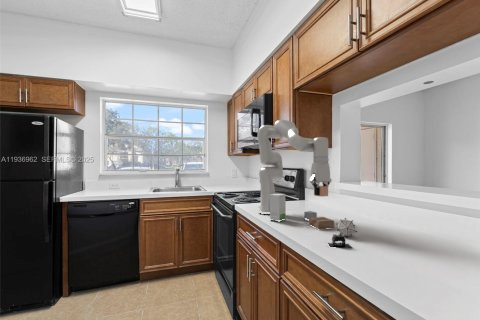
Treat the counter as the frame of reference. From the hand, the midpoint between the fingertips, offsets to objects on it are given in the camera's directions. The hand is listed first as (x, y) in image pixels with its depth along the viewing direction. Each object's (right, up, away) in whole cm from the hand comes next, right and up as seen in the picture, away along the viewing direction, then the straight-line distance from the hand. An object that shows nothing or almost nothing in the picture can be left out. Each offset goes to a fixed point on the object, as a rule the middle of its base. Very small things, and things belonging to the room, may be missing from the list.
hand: (320, 194), depth 121 cm
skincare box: (-21, -18, +14) cm, 31 cm away
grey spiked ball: (+6, -17, -17) cm, 24 cm away
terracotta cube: (0, -1, 0) cm, 1 cm away
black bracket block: (-3, -17, -29) cm, 34 cm away
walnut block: (0, -18, -1) cm, 18 cm away
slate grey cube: (-1, -18, +15) cm, 23 cm away
